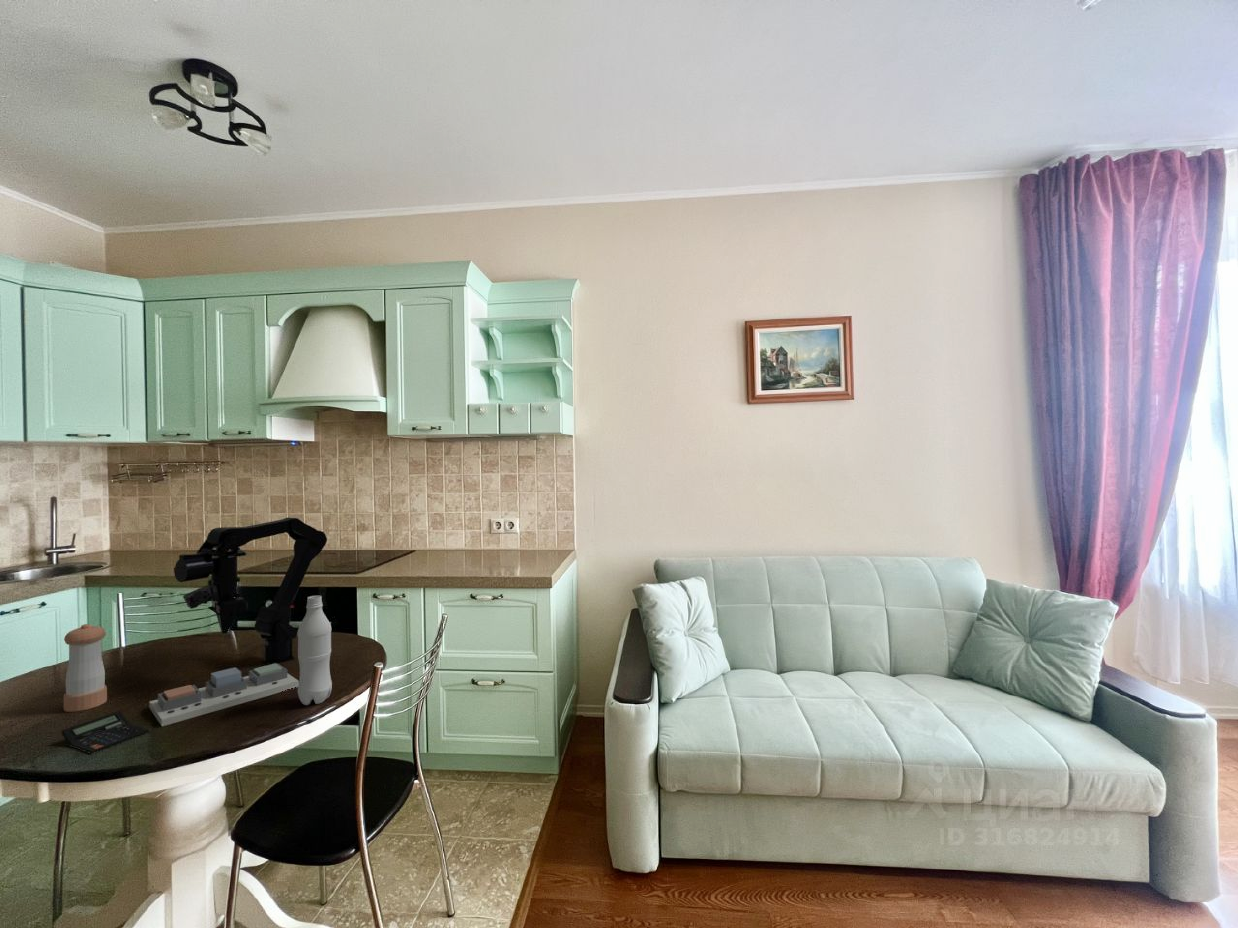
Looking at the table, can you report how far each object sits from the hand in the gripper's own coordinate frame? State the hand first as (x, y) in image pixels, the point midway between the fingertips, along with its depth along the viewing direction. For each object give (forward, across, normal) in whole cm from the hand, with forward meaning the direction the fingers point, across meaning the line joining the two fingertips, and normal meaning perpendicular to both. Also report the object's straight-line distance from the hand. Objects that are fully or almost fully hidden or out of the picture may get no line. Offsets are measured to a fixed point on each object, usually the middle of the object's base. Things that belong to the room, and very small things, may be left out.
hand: (224, 632), depth 143 cm
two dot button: (+9, +14, -3) cm, 17 cm away
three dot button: (+10, +14, -12) cm, 21 cm away
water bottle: (+12, +34, +10) cm, 37 cm away
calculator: (+13, +19, -25) cm, 34 cm away
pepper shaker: (+12, -6, -26) cm, 29 cm away
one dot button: (+10, +14, +6) cm, 18 cm away
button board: (+12, +15, -3) cm, 19 cm away
